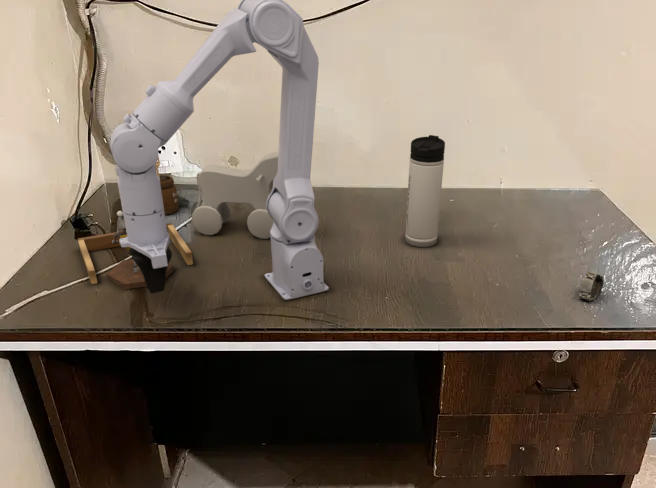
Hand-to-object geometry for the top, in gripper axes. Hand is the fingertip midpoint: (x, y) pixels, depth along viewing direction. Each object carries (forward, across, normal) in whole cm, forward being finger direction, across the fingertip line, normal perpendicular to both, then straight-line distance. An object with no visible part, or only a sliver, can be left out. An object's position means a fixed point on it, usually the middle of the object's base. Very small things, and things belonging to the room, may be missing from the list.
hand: (156, 290), depth 97 cm
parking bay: (+2, -18, 0) cm, 19 cm away
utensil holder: (+2, -39, +10) cm, 40 cm away
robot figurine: (+3, -11, 0) cm, 12 cm away
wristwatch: (+2, +29, +64) cm, 70 cm away
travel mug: (+2, -2, +51) cm, 51 cm away
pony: (+2, -21, +22) cm, 31 cm away
